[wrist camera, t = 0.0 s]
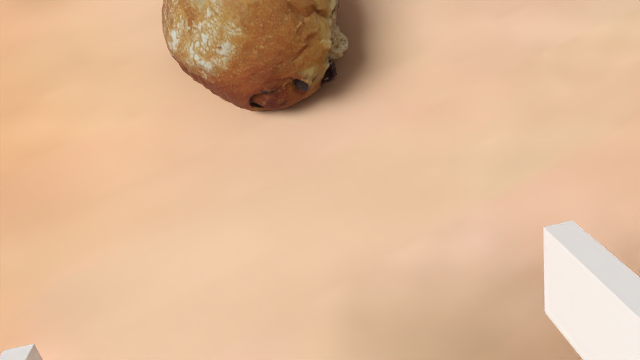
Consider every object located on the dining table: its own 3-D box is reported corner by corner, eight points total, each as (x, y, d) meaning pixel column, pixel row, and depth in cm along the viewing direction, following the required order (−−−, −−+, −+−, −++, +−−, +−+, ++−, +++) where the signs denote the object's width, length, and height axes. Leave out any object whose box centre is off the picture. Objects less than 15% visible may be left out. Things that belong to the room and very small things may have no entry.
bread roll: (291, -15, 37) (243, -127, 30) (393, 48, 31) (360, -73, 25) (180, 76, 36) (105, -20, 29) (265, 160, 30) (194, 63, 23)
